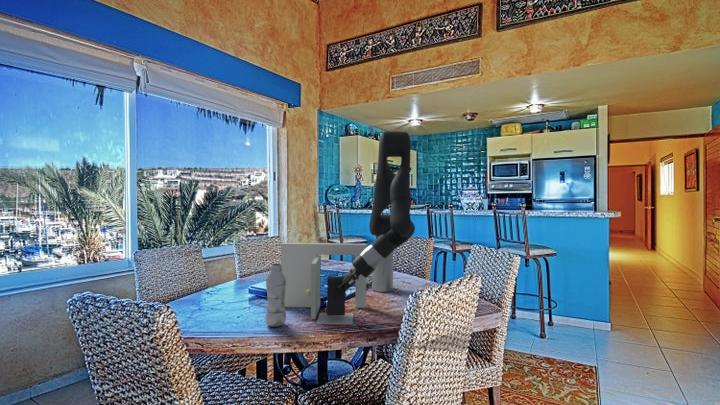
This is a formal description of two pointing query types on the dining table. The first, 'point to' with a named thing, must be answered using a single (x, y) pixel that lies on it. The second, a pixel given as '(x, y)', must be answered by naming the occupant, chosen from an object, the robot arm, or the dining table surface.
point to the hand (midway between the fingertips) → (333, 295)
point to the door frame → (316, 277)
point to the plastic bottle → (276, 296)
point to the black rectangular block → (336, 304)
